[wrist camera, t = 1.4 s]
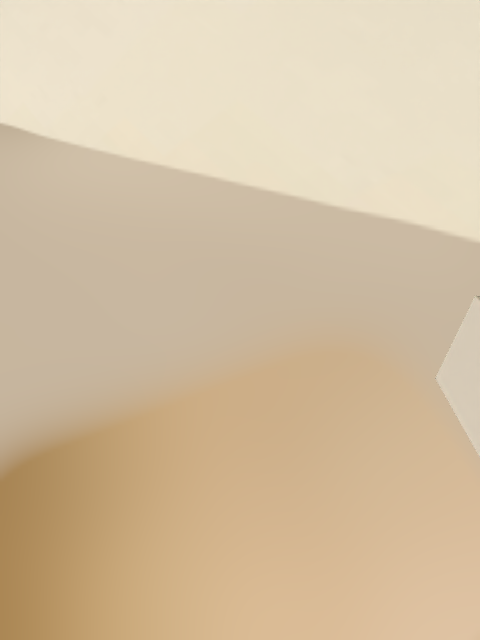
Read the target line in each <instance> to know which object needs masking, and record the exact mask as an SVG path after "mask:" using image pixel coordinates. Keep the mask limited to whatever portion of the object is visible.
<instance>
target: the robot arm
mask: <svg viewBox="0 0 480 640" xmlns="http://www.w3.org/2000/svg"><path fill="white" fill-rule="evenodd" d="M435 379H436V380H437V382H438V384H439V386H440V388H441V389H442V391H443V393H444V395H445V396H446V398H447V400H448V402H449V404H450V405H451V407H452V409H453V411H454V412H455V414H456V416H457V418H458V419H459V421H460V423H461V425H462V427H463V429H464V430H465V432H466V434H467V436H468V437H469V439H470V441H471V443H472V444H473V446H474V448H475V450H476V451H477V454H478V455H479V457H480V296H475V297H474V300H473V302H472V304H471V306H470V308H469V310H468V312H467V314H466V316H465V318H464V320H463V323H462V324H461V327H460V329H459V330H458V333H457V335H456V337H455V339H454V341H453V343H452V345H451V347H450V349H449V351H448V353H447V355H446V357H445V359H444V361H443V364H442V366H441V368H440V370H439V372H438V374H437V376H436V378H435Z"/></svg>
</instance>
